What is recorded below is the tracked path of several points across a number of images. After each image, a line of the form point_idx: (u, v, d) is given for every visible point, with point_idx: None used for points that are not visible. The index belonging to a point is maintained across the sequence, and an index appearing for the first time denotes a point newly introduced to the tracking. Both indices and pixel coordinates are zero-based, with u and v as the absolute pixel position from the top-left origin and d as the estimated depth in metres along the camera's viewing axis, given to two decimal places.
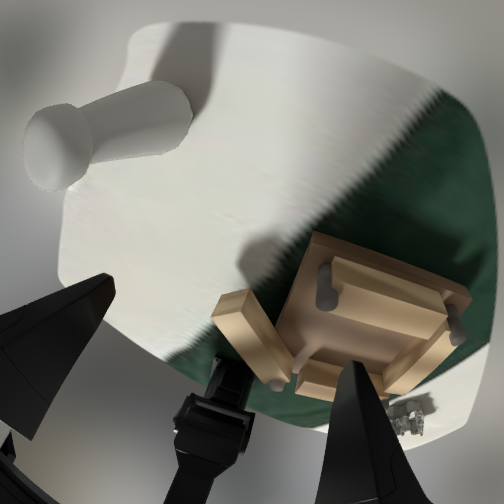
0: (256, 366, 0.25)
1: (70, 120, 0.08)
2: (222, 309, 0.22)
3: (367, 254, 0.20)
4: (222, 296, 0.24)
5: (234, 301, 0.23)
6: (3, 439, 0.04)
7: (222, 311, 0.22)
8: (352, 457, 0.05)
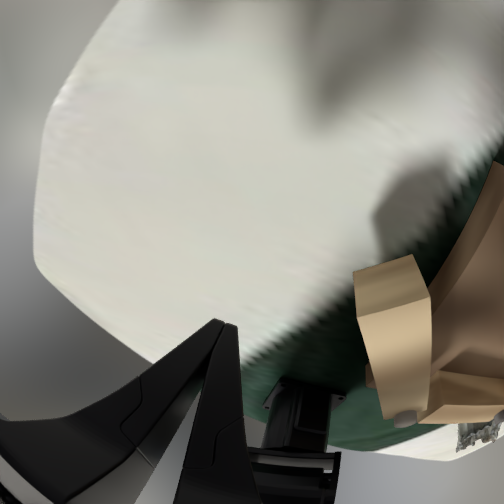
0: (391, 397, 0.12)
1: None
2: (379, 299, 0.10)
3: None
4: (357, 274, 0.12)
5: (397, 280, 0.10)
6: None
7: (381, 303, 0.09)
8: None
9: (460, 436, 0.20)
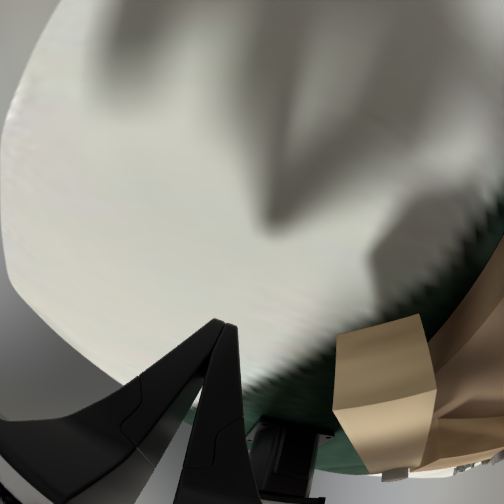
0: (378, 462, 0.09)
1: None
2: (367, 385, 0.06)
3: None
4: (342, 339, 0.09)
5: (395, 356, 0.07)
6: None
7: (369, 392, 0.06)
8: None
9: None
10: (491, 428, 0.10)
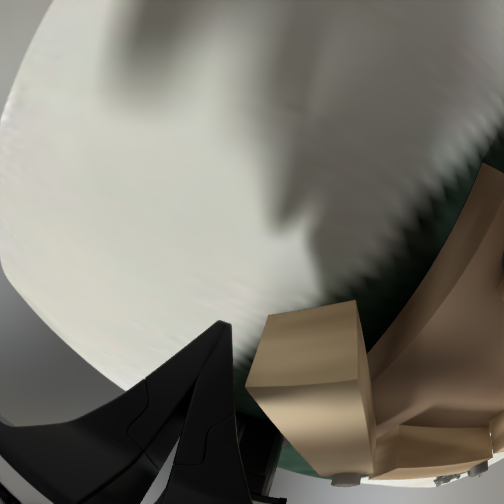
0: (322, 462, 0.09)
1: None
2: (284, 365, 0.07)
3: None
4: (272, 320, 0.09)
5: (319, 340, 0.07)
6: None
7: (283, 373, 0.07)
8: None
9: None
10: (465, 440, 0.10)
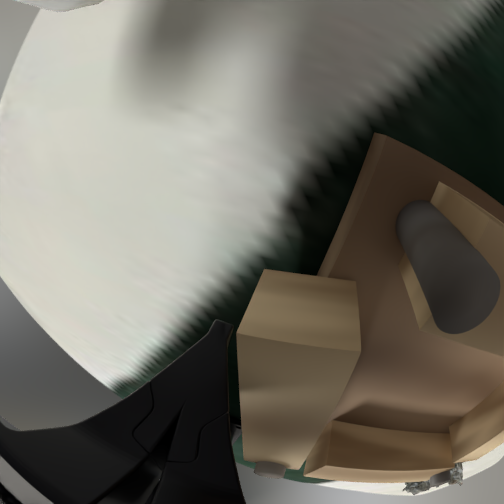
0: (258, 444, 0.10)
1: None
2: (283, 321, 0.07)
3: None
4: (268, 274, 0.09)
5: (321, 306, 0.07)
6: None
7: (283, 328, 0.06)
8: None
9: (406, 483, 0.18)
10: (418, 445, 0.11)
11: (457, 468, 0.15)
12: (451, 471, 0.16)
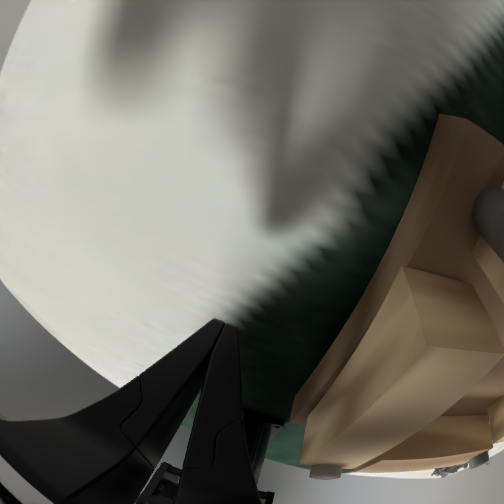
0: (336, 450, 0.08)
1: None
2: (451, 327, 0.05)
3: None
4: (409, 272, 0.07)
5: (466, 310, 0.05)
6: None
7: (455, 335, 0.05)
8: None
9: None
10: (460, 429, 0.10)
11: None
12: None
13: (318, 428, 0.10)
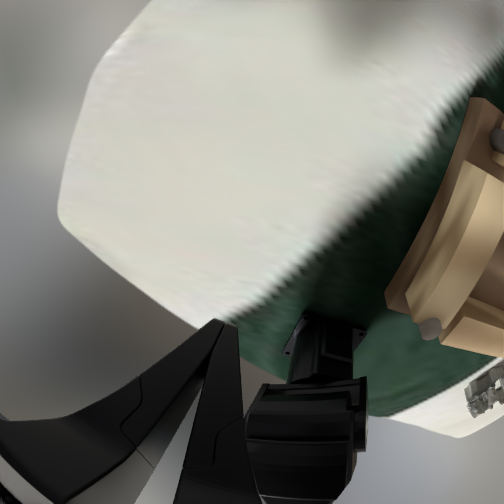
0: (446, 286, 0.13)
1: None
2: None
3: None
4: (468, 162, 0.11)
5: None
6: None
7: (495, 178, 0.09)
8: None
9: (467, 400, 0.23)
10: (500, 315, 0.15)
11: None
12: (502, 384, 0.20)
13: (426, 280, 0.15)
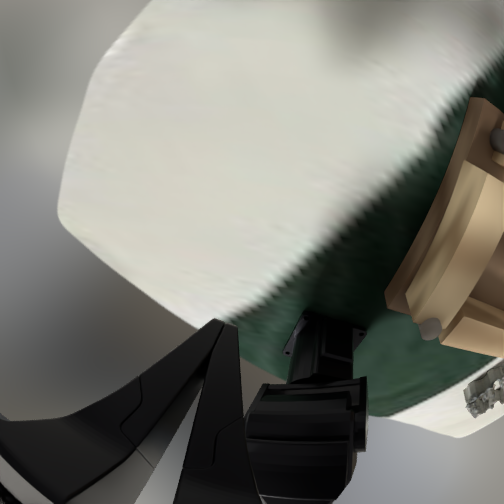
0: (446, 286, 0.13)
1: None
2: None
3: None
4: (468, 162, 0.11)
5: (496, 178, 0.10)
6: None
7: (496, 178, 0.09)
8: None
9: (466, 401, 0.23)
10: (500, 315, 0.15)
11: None
12: (501, 384, 0.20)
13: (426, 280, 0.15)
